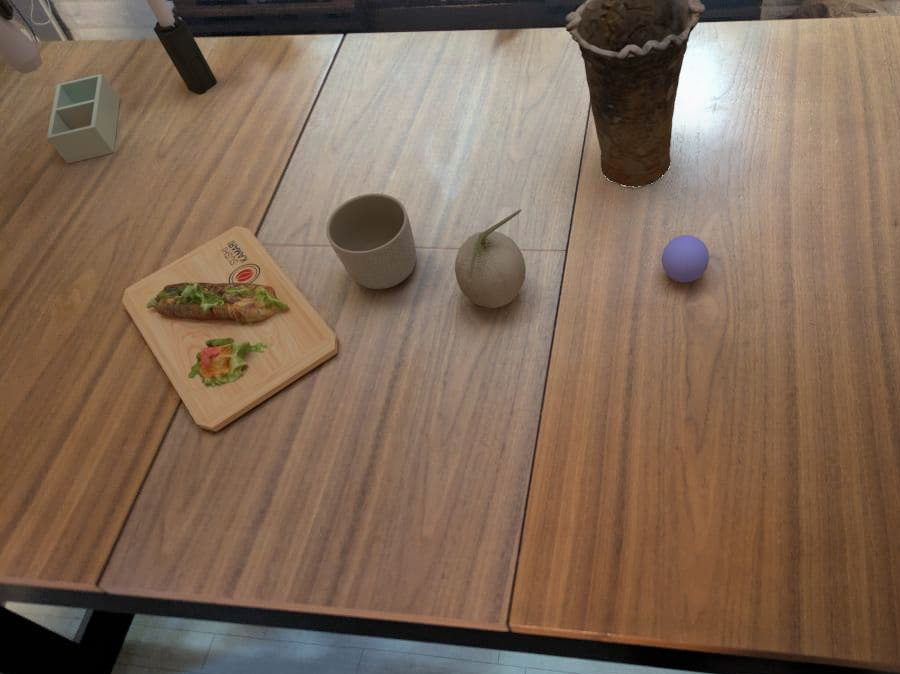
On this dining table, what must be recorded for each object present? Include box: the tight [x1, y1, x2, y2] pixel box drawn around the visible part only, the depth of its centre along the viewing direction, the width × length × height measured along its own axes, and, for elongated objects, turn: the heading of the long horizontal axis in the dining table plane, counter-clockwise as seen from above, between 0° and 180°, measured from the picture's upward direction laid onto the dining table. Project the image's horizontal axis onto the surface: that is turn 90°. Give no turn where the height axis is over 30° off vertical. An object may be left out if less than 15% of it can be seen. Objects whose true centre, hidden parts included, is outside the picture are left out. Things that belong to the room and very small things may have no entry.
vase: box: [564, 0, 706, 187], centre depth 112 cm, size 18×18×27 cm
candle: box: [145, 0, 218, 95], centre depth 136 cm, size 5×5×25 cm
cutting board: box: [121, 225, 339, 433], centre depth 109 cm, size 35×23×8 cm
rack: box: [46, 73, 121, 165], centre depth 140 cm, size 9×17×6 cm, turn 14°
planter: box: [325, 192, 417, 290], centre depth 111 cm, size 12×12×11 cm
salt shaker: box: [0, 12, 43, 74], centre depth 119 cm, size 6×6×13 cm
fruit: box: [454, 208, 527, 309], centre depth 104 cm, size 10×12×15 cm
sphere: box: [661, 234, 710, 283], centre depth 106 cm, size 7×7×7 cm
